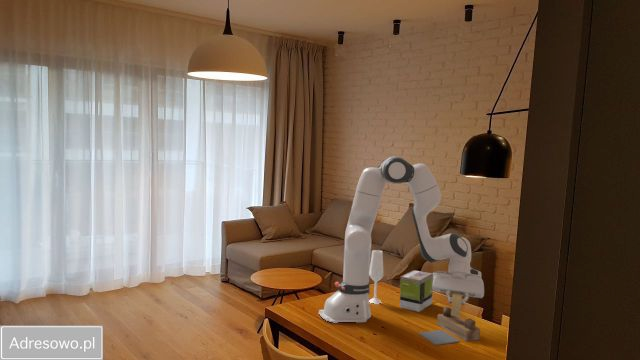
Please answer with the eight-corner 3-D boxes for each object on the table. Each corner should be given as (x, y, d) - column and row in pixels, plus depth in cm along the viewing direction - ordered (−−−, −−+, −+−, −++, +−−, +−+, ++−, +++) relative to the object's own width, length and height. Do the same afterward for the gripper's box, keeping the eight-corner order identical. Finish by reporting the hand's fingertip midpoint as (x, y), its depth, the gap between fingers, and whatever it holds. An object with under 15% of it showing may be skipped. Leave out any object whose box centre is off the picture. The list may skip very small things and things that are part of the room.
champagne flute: (364, 300, 217) (367, 250, 216) (376, 298, 220) (378, 249, 219) (373, 304, 211) (375, 253, 210) (385, 303, 215) (387, 252, 213)
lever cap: (460, 317, 182) (461, 295, 181) (450, 315, 183) (452, 294, 182) (460, 314, 185) (462, 293, 185) (451, 312, 186) (452, 292, 186)
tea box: (412, 299, 221) (414, 269, 221) (432, 304, 216) (434, 273, 215) (398, 307, 209) (400, 275, 208) (419, 312, 203) (421, 279, 203)
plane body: (465, 341, 174) (466, 323, 173) (436, 323, 191) (437, 307, 190) (479, 339, 176) (480, 321, 176) (450, 322, 193) (450, 305, 193)
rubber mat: (435, 345, 169) (435, 344, 169) (418, 333, 179) (418, 332, 179) (459, 341, 173) (459, 340, 173) (441, 330, 183) (441, 329, 183)
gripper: (433, 266, 193) (429, 295, 184) (485, 272, 186) (483, 303, 178) (433, 274, 197) (429, 303, 188) (484, 280, 191) (482, 311, 182)
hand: (456, 303), depth 183 cm, fingers closed on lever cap, 4 cm apart
